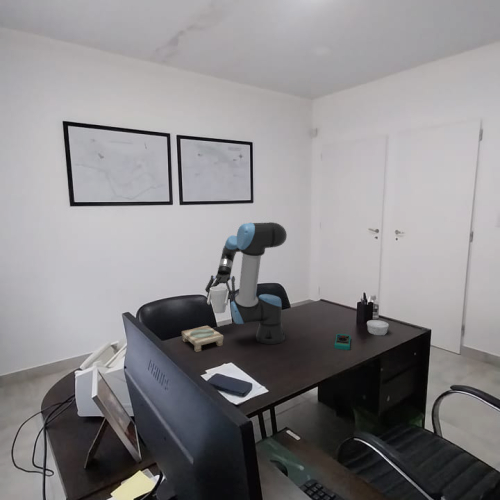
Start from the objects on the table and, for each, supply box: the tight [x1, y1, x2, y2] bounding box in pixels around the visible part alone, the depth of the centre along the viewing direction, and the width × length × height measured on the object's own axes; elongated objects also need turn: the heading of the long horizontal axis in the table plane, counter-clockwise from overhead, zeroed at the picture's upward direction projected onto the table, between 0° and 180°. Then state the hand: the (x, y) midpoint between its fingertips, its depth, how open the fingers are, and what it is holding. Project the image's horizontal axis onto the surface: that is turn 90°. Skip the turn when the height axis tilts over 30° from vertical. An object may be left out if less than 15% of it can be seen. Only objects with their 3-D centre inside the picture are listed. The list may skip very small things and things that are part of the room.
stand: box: [181, 325, 224, 353], centre depth 174 cm, size 18×15×5 cm
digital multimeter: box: [333, 333, 352, 351], centre depth 171 cm, size 7×15×3 cm, turn 162°
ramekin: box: [366, 319, 390, 336], centre depth 185 cm, size 11×11×5 cm
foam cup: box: [210, 285, 229, 314], centre depth 183 cm, size 10×9×13 cm
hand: (217, 303), depth 180 cm, fingers closed on foam cup, 9 cm apart
